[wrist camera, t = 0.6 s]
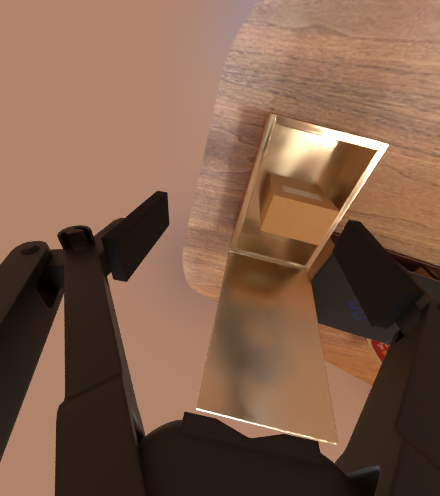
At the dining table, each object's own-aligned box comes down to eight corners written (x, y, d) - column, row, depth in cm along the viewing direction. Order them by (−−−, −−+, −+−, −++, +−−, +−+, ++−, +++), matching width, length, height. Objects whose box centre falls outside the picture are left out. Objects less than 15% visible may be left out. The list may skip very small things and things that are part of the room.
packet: (269, 172, 31) (273, 194, 23) (318, 185, 31) (340, 211, 23) (259, 201, 34) (259, 230, 26) (304, 213, 34) (318, 245, 26)
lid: (196, 408, 19) (191, 413, 23) (339, 445, 19) (308, 443, 23) (229, 251, 33) (222, 271, 37) (309, 271, 33) (294, 289, 37)
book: (325, 228, 36) (337, 249, 31) (450, 269, 37) (483, 296, 32) (282, 289, 46) (285, 313, 41) (381, 320, 47) (397, 347, 42)
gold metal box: (267, 111, 28) (270, 112, 22) (363, 136, 28) (390, 143, 22) (232, 230, 39) (229, 251, 34) (300, 248, 39) (307, 271, 34)
